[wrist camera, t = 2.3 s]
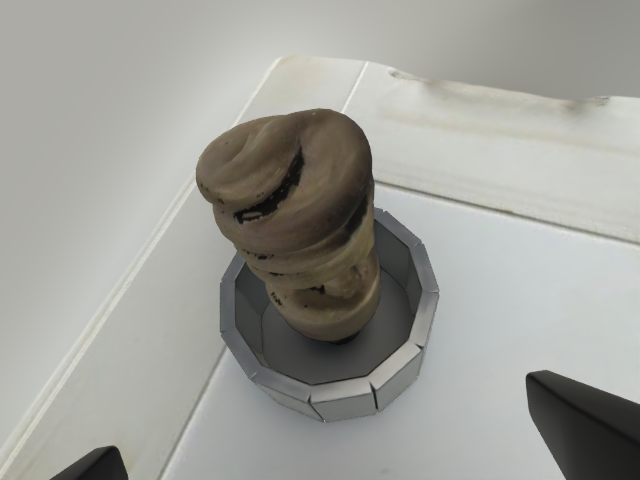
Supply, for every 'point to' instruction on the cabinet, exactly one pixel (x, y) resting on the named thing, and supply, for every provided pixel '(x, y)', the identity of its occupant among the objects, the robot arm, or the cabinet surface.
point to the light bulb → (300, 216)
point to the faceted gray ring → (347, 394)
